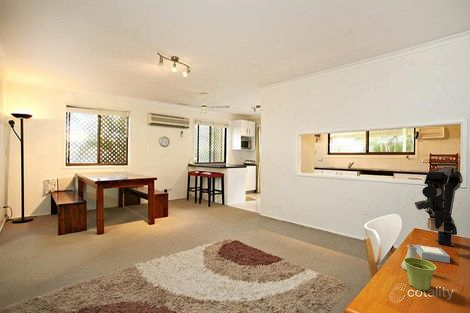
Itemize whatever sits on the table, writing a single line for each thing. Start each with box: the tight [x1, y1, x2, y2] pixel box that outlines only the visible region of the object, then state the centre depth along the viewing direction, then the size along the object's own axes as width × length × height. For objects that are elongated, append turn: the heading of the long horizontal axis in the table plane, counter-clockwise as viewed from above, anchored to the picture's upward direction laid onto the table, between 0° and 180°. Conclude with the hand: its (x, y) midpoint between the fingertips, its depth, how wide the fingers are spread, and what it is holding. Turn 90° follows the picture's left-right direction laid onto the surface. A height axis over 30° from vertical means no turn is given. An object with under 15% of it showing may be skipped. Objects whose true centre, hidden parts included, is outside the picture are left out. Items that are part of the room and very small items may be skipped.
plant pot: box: [403, 257, 437, 292], centre depth 86 cm, size 9×9×9 cm
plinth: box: [415, 244, 451, 264], centre depth 111 cm, size 10×10×3 cm
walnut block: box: [426, 217, 444, 232], centre depth 117 cm, size 5×5×5 cm
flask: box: [400, 244, 418, 272], centre depth 98 cm, size 7×7×10 cm
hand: (435, 227), depth 117 cm, fingers closed on walnut block, 5 cm apart
